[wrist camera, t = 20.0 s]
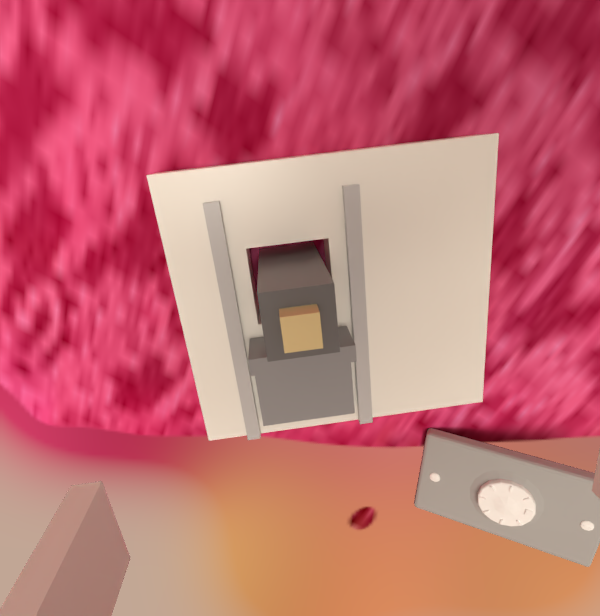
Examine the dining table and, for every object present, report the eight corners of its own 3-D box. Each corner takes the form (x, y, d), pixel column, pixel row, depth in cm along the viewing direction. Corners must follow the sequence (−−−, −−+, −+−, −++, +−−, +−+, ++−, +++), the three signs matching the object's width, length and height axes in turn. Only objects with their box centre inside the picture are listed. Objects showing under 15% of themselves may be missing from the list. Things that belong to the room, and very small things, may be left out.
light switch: (424, 439, 36) (626, 497, 31) (433, 404, 41) (607, 449, 36) (411, 514, 39) (592, 578, 34) (421, 473, 44) (580, 523, 39)
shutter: (249, 338, 30) (248, 359, 27) (346, 325, 30) (355, 345, 27) (263, 419, 32) (263, 447, 29) (352, 407, 32) (361, 433, 29)
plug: (259, 248, 31) (256, 301, 20) (313, 241, 31) (338, 290, 20) (266, 299, 32) (267, 372, 22) (318, 292, 32) (343, 362, 22)
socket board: (158, 172, 28) (143, 175, 25) (476, 134, 29) (504, 133, 26) (213, 417, 35) (207, 445, 32) (465, 382, 36) (486, 406, 33)
